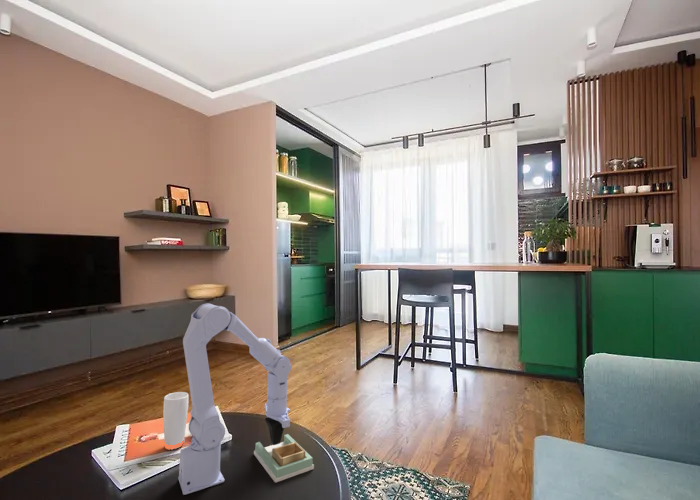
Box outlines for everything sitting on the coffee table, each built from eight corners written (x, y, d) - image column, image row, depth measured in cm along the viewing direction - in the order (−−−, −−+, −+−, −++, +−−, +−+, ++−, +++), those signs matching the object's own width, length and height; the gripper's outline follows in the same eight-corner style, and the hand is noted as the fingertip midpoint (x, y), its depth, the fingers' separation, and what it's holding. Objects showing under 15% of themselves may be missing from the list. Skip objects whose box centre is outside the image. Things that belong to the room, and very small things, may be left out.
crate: (280, 473, 88) (281, 459, 88) (271, 462, 93) (272, 448, 93) (305, 464, 92) (305, 451, 92) (295, 454, 97) (295, 441, 97)
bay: (275, 482, 86) (275, 470, 86) (253, 454, 99) (254, 443, 99) (313, 468, 92) (314, 457, 92) (288, 443, 105) (289, 433, 105)
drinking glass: (164, 442, 105) (166, 392, 106) (188, 439, 107) (190, 390, 108) (158, 454, 98) (161, 400, 99) (184, 450, 100) (187, 398, 101)
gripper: (300, 401, 97) (299, 450, 96) (280, 386, 109) (279, 430, 108) (276, 406, 93) (275, 457, 92) (258, 390, 105) (257, 435, 104)
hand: (275, 443), depth 100 cm, fingers closed
